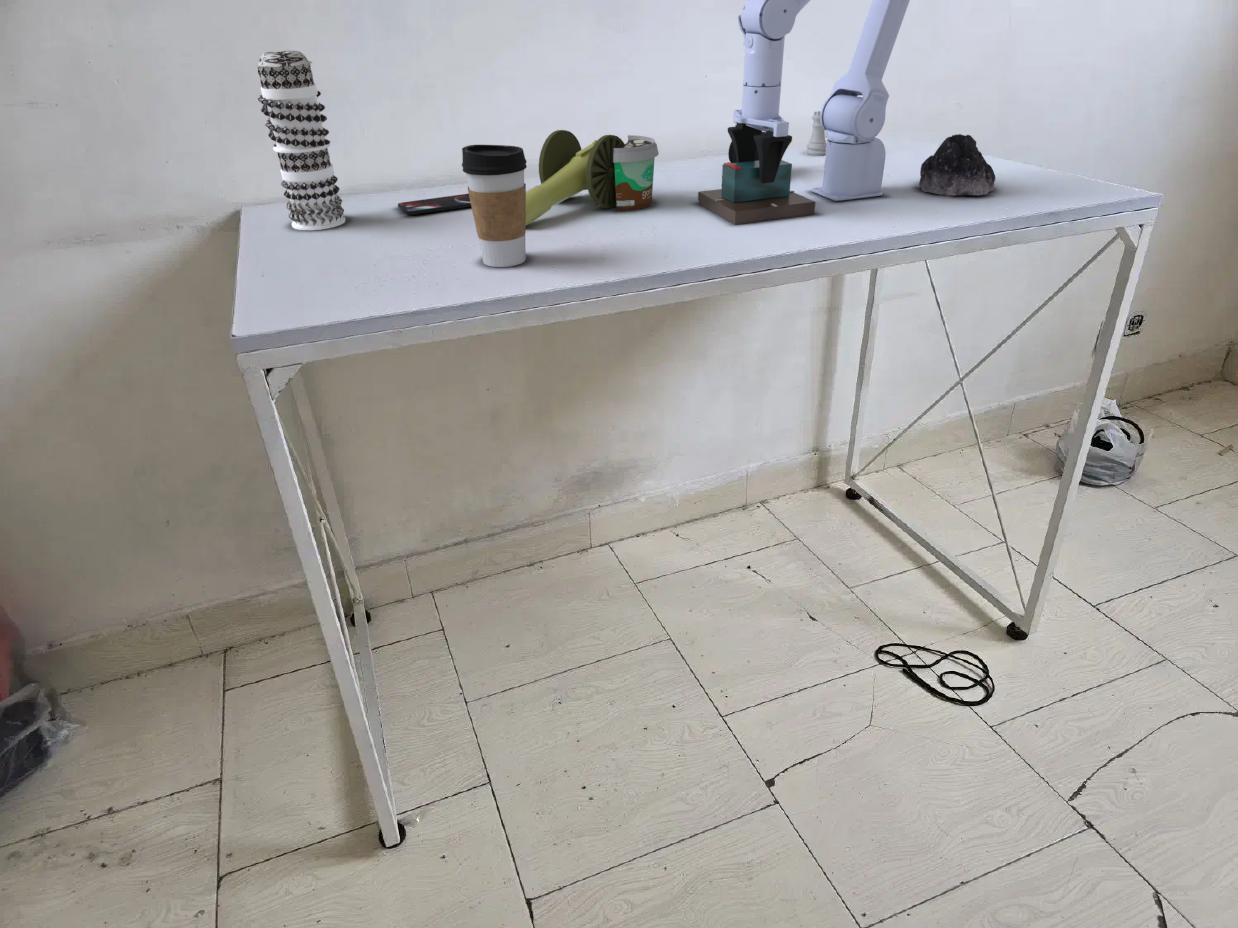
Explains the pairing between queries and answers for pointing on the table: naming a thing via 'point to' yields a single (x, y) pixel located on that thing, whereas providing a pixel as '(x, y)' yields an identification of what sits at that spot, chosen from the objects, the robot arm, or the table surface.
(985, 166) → the crystal cluster
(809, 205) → the clock
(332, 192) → the white patterned cylinder
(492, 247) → the coffee cup
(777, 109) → the robot arm
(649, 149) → the food container
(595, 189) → the cannon
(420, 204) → the smartphone
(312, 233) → the table surface
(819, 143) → the white chess piece
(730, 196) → the teal block red stripe
